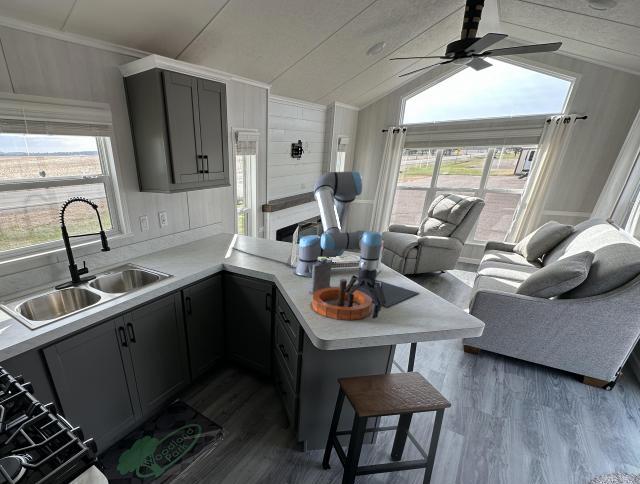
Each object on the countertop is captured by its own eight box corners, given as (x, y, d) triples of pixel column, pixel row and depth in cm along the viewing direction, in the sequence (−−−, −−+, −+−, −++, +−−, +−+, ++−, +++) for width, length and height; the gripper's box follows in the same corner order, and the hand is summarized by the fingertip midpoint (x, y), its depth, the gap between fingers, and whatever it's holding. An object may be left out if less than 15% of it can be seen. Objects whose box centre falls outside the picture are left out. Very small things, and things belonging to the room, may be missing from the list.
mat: (340, 290, 179) (340, 289, 179) (371, 279, 193) (372, 278, 193) (387, 307, 158) (387, 306, 158) (418, 293, 172) (418, 292, 172)
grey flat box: (331, 287, 183) (334, 256, 176) (315, 294, 175) (317, 262, 168) (326, 286, 186) (329, 255, 178) (309, 292, 178) (311, 260, 170)
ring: (301, 305, 163) (301, 296, 161) (337, 292, 177) (338, 283, 175) (345, 325, 143) (346, 315, 141) (381, 309, 156) (383, 299, 154)
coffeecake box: (368, 268, 211) (372, 239, 203) (380, 270, 207) (384, 240, 199) (361, 275, 200) (365, 244, 192) (373, 277, 196) (378, 245, 188)
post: (330, 306, 161) (332, 279, 155) (339, 302, 164) (342, 276, 159) (341, 311, 155) (344, 284, 150) (351, 307, 159) (354, 280, 153)
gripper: (339, 263, 149) (335, 305, 157) (389, 277, 130) (381, 324, 139) (350, 260, 153) (345, 301, 161) (400, 273, 134) (391, 319, 142)
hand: (362, 312), depth 150 cm, fingers open, 13 cm apart
